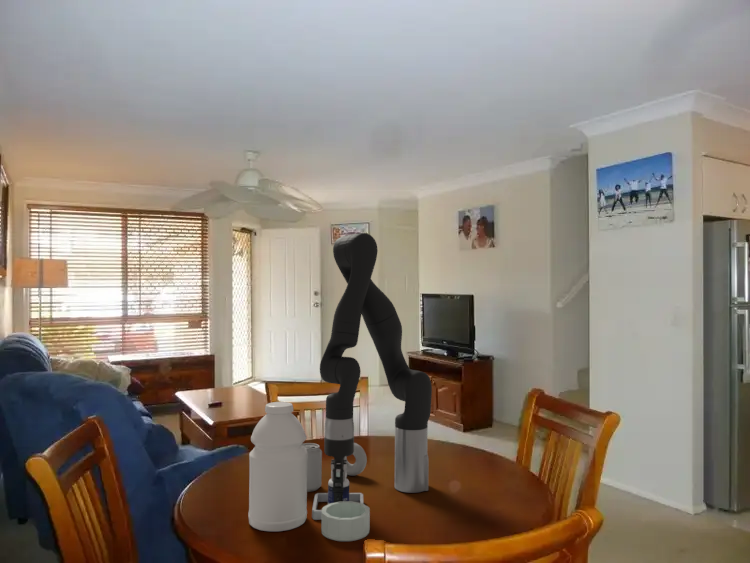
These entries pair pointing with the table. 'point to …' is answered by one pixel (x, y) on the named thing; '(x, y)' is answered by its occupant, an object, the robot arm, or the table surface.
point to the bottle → (278, 471)
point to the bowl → (345, 521)
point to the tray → (324, 498)
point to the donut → (357, 461)
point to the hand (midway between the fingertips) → (338, 501)
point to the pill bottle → (345, 485)
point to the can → (313, 466)
